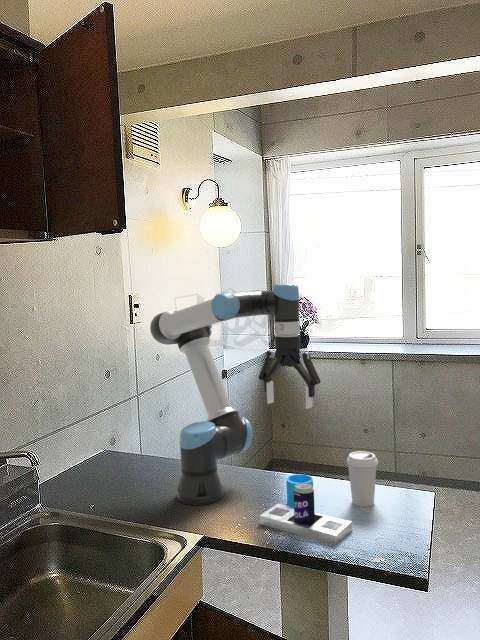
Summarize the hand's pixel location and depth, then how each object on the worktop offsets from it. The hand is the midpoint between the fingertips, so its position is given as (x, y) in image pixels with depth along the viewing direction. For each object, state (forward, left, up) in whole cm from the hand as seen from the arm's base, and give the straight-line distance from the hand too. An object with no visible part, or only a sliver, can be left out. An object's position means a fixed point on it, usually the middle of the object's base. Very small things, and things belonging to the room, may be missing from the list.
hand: (289, 405), depth 169 cm
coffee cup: (+17, +14, -32) cm, 39 cm away
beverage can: (+10, -10, -32) cm, 35 cm away
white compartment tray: (+10, -10, -32) cm, 35 cm away
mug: (+1, +5, -32) cm, 32 cm away
